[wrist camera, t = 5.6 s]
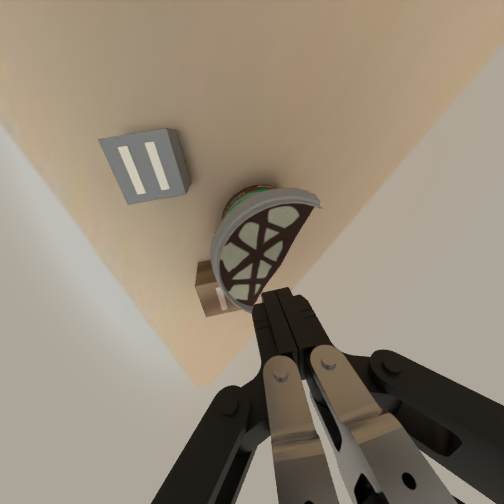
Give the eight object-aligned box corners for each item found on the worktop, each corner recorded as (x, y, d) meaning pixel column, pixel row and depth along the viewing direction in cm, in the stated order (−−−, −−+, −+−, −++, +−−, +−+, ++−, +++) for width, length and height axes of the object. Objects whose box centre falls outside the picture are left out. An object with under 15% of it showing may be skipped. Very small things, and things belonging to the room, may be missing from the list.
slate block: (123, 138, 20) (97, 139, 15) (176, 129, 20) (165, 128, 16) (144, 191, 22) (127, 205, 18) (191, 182, 22) (185, 194, 18)
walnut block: (198, 262, 27) (194, 287, 23) (235, 254, 28) (239, 278, 23) (207, 290, 30) (206, 318, 26) (241, 283, 30) (245, 309, 26)
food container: (237, 150, 22) (252, 161, 13) (286, 177, 24) (327, 201, 15) (196, 247, 26) (188, 303, 18) (240, 262, 28) (252, 318, 20)
